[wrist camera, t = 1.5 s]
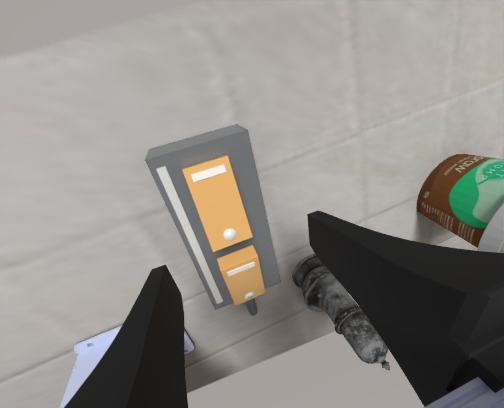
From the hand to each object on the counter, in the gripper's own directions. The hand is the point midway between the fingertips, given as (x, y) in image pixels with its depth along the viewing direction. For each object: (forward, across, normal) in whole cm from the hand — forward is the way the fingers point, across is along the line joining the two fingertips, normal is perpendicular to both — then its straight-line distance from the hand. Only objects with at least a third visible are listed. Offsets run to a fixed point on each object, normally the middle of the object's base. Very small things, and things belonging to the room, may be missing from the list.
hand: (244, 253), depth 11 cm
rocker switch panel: (+10, 0, +7) cm, 12 cm away
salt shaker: (+10, -8, +15) cm, 20 cm away
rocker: (+6, 0, 0) cm, 6 cm away
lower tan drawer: (+6, 0, +8) cm, 9 cm away
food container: (+10, -28, +8) cm, 31 cm away
